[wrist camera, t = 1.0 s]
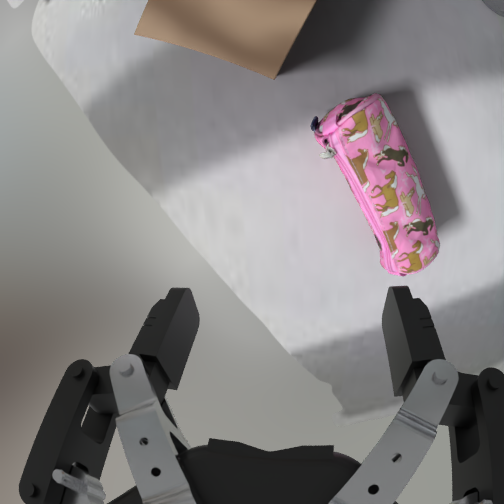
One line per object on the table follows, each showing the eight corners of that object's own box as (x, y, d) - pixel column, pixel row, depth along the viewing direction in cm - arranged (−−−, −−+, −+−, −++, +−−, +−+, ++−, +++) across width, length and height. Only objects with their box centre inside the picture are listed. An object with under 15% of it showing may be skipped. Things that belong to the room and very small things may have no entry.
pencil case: (301, 121, 32) (302, 135, 25) (367, 84, 28) (390, 88, 21) (377, 253, 40) (391, 294, 33) (432, 225, 36) (456, 262, 29)
